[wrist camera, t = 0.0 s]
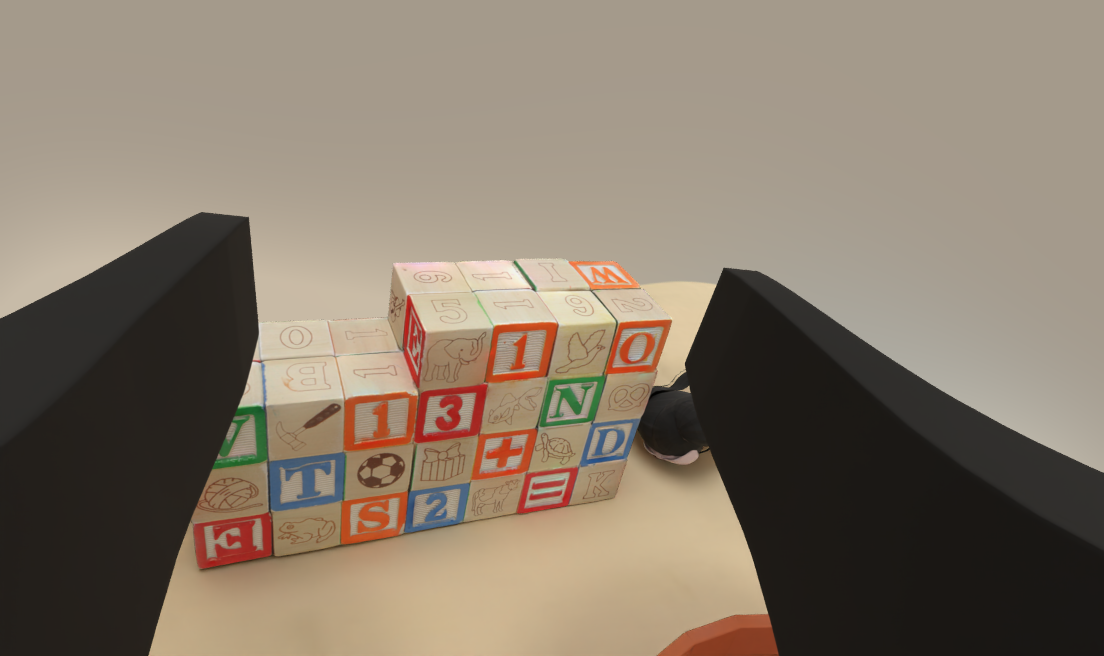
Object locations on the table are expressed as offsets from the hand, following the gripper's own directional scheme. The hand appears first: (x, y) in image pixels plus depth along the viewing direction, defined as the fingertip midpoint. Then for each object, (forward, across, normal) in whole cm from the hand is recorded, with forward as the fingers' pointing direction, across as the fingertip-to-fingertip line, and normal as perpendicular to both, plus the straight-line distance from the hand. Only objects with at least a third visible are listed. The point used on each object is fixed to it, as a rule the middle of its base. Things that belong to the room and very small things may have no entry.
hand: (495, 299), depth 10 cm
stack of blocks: (+15, 0, +23) cm, 28 cm away
